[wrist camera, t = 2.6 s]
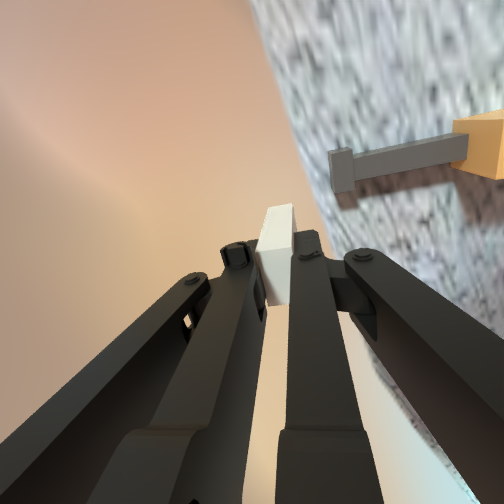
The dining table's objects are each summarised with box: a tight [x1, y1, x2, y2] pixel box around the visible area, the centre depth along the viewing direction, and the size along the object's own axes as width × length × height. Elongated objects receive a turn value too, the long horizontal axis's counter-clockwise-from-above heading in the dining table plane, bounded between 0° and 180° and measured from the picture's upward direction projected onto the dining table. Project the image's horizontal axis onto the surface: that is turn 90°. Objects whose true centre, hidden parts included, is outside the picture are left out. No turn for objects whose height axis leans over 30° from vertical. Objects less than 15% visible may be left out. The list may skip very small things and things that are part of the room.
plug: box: [328, 109, 504, 194], centre depth 24 cm, size 4×17×7 cm, turn 103°
